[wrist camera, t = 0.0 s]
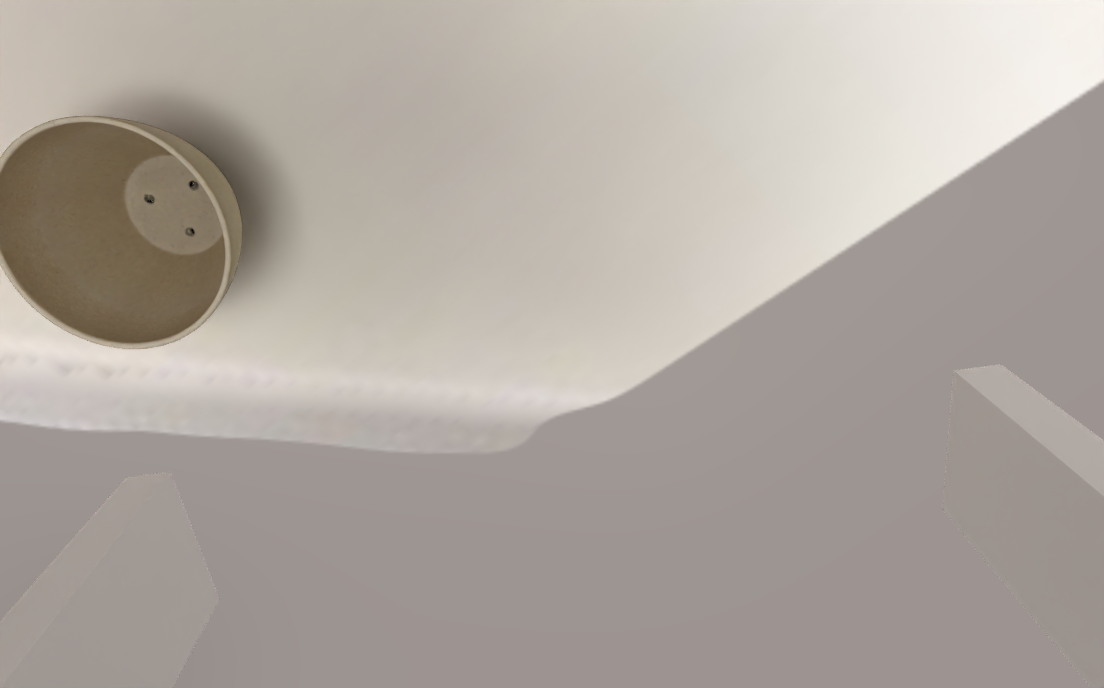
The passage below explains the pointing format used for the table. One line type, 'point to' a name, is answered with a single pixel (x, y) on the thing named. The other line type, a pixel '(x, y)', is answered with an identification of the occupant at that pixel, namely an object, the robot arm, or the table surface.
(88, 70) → the table surface
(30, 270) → the flower pot
